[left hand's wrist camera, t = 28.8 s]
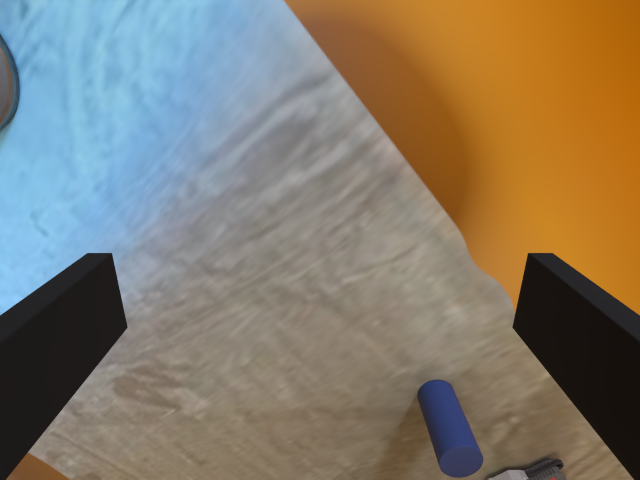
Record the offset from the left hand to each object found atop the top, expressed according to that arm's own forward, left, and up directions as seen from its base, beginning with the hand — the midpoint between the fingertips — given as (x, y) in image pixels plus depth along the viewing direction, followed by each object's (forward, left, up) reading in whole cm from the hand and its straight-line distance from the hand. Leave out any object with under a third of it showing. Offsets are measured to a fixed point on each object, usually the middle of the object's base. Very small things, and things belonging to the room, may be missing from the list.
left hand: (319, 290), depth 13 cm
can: (+42, +4, -37) cm, 56 cm away
